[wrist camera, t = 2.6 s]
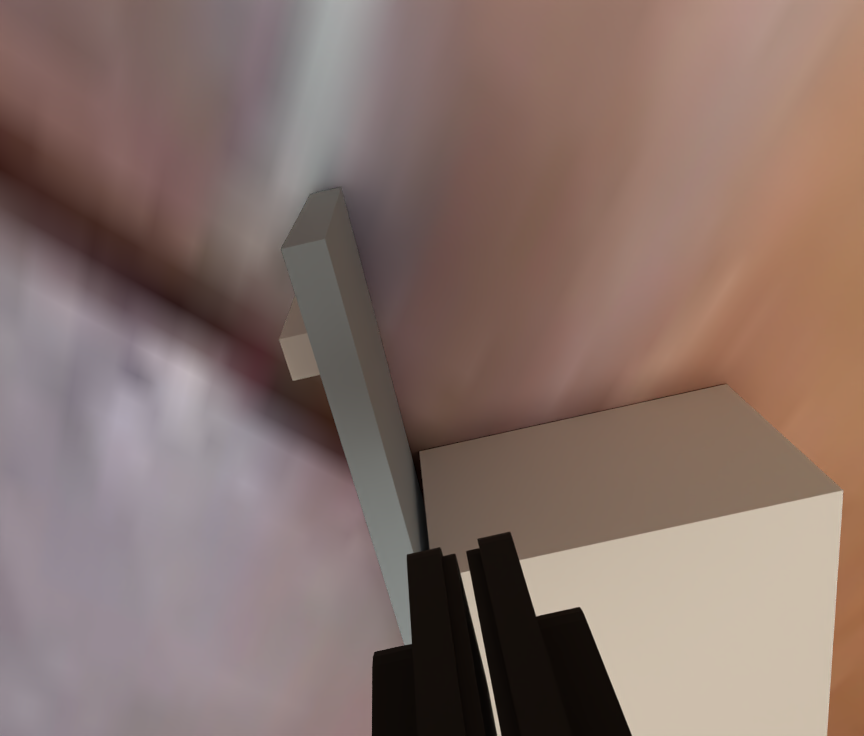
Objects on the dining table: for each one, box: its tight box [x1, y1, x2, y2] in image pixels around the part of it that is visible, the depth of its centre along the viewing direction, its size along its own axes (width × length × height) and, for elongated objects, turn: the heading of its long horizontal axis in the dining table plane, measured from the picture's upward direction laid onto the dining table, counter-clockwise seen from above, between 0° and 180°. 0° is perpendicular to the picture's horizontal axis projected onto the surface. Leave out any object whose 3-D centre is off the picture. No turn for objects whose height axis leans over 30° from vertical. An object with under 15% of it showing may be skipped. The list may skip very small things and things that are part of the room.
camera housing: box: [419, 384, 843, 736], centre depth 26 cm, size 18×12×7 cm
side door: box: [279, 187, 430, 645], centre depth 24 cm, size 28×2×7 cm, turn 12°
